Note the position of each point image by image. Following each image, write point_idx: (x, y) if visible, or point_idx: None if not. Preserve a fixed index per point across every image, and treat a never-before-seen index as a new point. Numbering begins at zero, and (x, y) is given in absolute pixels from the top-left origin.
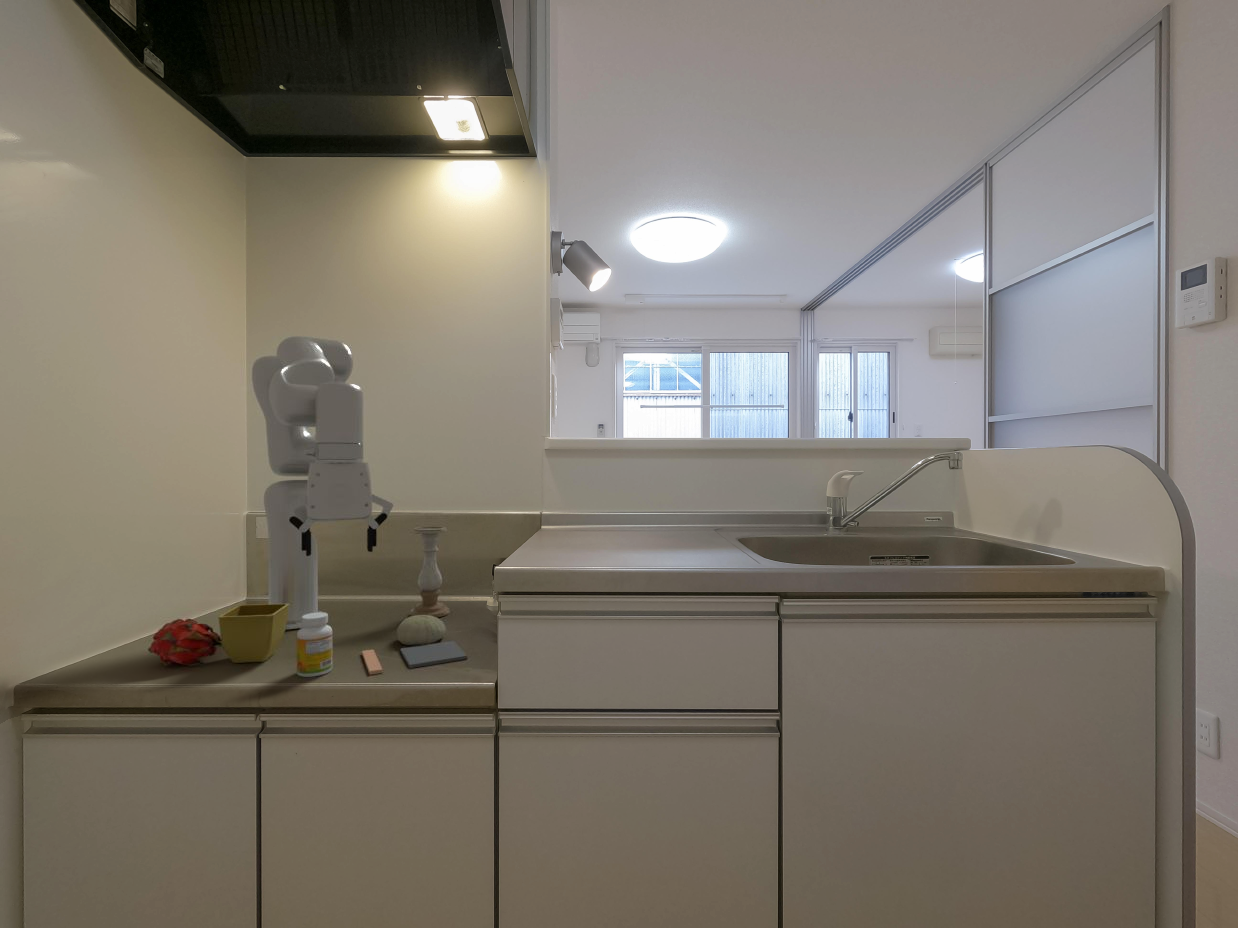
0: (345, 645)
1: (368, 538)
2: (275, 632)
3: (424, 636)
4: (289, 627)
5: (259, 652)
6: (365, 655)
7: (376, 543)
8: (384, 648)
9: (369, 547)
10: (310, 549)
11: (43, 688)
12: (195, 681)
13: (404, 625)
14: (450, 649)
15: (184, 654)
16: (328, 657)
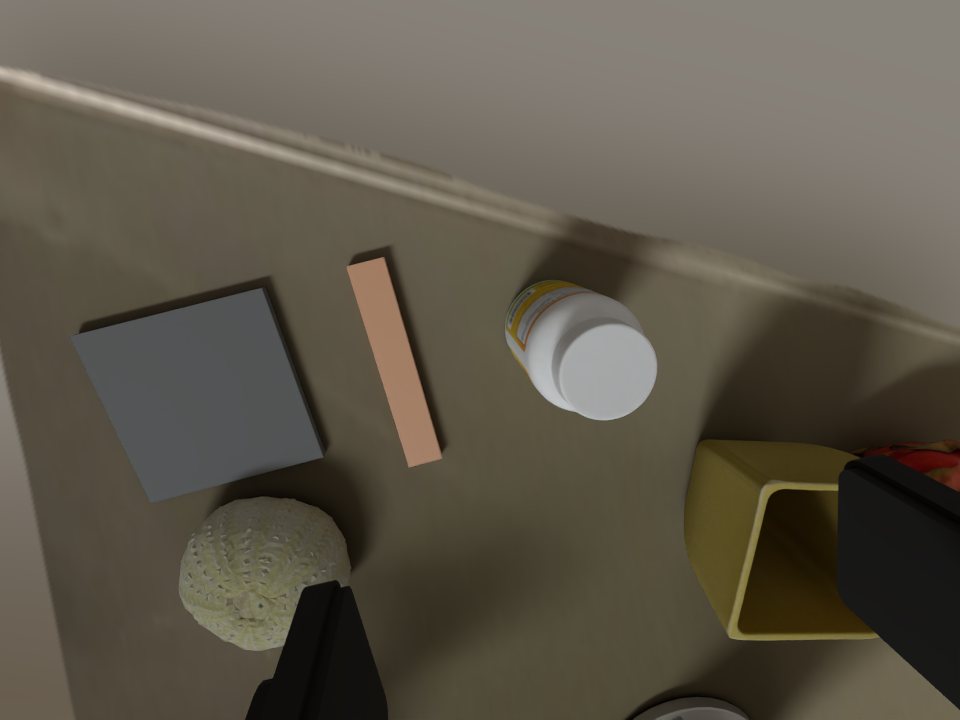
0: (503, 542)
1: (318, 702)
2: (715, 488)
3: (242, 505)
4: (681, 702)
5: (725, 440)
6: (423, 412)
7: (255, 694)
8: (382, 493)
9: (327, 608)
10: (888, 492)
11: None
12: (834, 325)
13: (311, 560)
14: (146, 414)
15: (909, 444)
16: (518, 312)
